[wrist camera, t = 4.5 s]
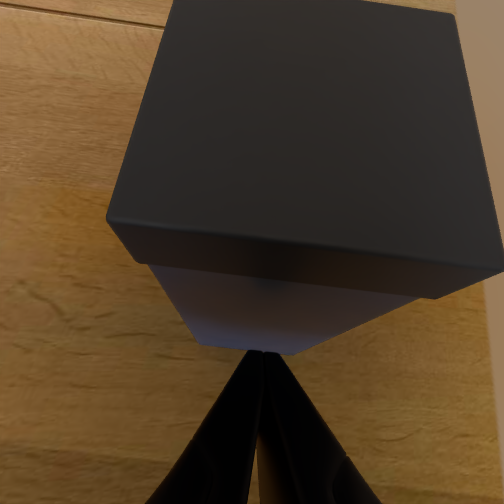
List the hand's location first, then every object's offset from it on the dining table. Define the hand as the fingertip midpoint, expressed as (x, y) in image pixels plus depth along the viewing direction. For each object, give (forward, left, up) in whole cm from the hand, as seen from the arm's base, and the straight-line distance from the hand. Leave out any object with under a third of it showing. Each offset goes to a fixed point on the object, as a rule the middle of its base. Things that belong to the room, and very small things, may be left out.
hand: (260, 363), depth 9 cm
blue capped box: (+3, -1, -8) cm, 9 cm away
